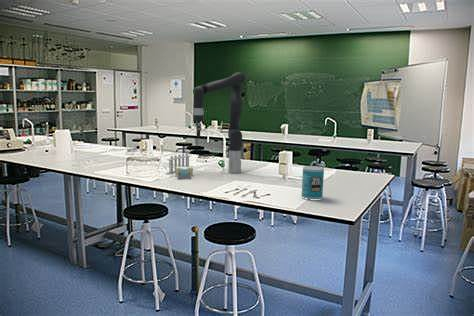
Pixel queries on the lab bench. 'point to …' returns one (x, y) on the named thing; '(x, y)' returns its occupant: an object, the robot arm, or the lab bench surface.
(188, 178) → the tray
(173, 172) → the test tube rack
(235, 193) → the lab bench surface
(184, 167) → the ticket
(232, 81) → the robot arm
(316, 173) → the food can
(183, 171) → the stub
